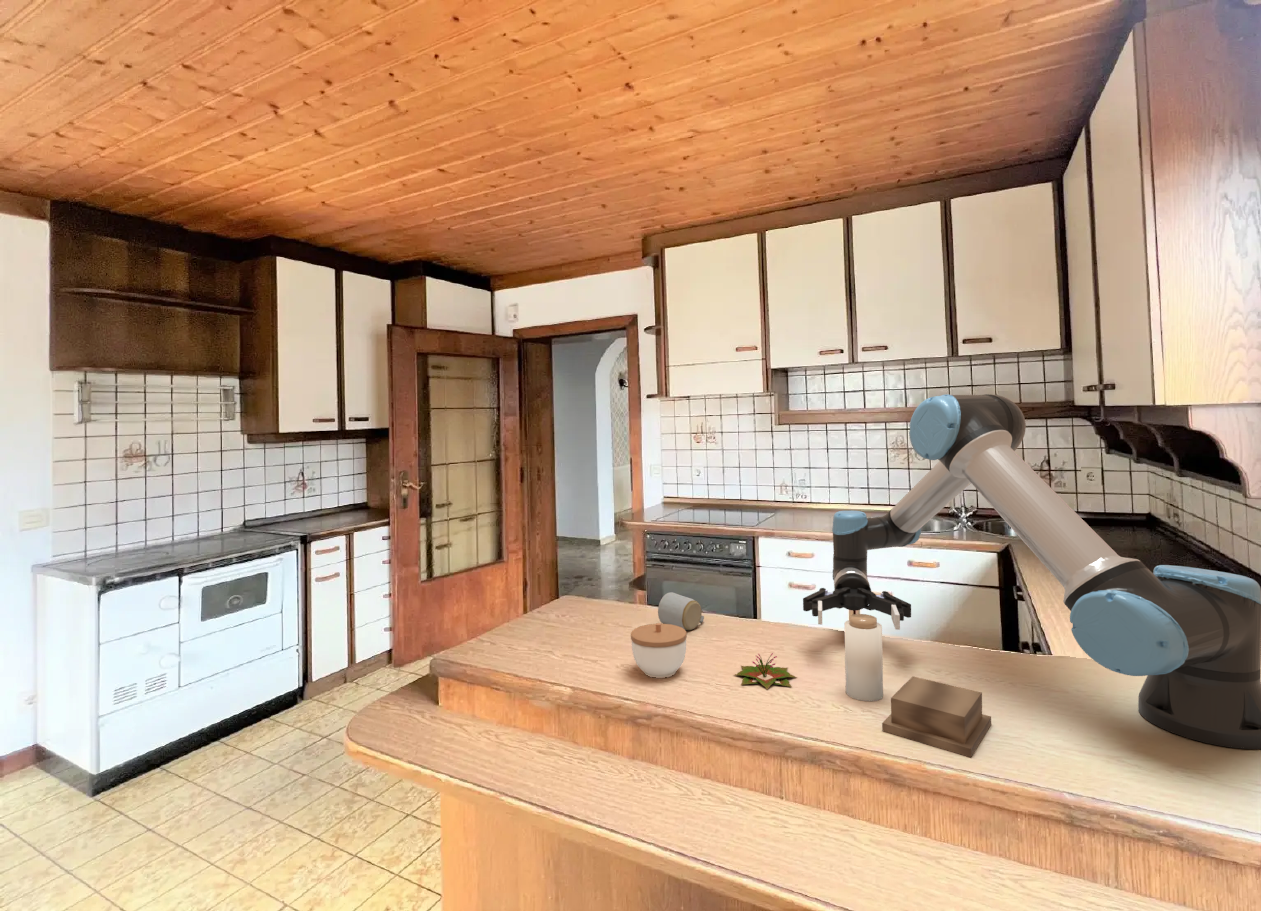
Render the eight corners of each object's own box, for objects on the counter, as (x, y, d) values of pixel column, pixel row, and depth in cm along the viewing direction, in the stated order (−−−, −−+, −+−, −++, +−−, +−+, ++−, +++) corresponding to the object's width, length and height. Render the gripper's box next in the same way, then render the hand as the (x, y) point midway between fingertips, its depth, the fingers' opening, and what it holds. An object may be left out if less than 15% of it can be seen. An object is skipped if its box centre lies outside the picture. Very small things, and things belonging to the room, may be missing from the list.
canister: (888, 691, 105) (887, 616, 104) (875, 704, 101) (874, 626, 100) (853, 682, 109) (852, 610, 108) (840, 694, 105) (838, 619, 104)
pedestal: (991, 724, 93) (990, 691, 93) (971, 757, 84) (970, 721, 84) (908, 702, 101) (908, 672, 101) (882, 730, 92) (881, 698, 92)
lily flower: (732, 665, 120) (732, 643, 120) (795, 667, 118) (795, 644, 118) (732, 691, 109) (731, 666, 108) (801, 694, 106) (800, 668, 106)
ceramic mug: (684, 635, 138) (683, 601, 137) (657, 627, 143) (656, 595, 143) (712, 624, 145) (712, 592, 145) (685, 617, 151) (685, 586, 151)
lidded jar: (658, 688, 110) (656, 637, 109) (620, 671, 118) (619, 624, 118) (699, 671, 117) (697, 623, 116) (661, 657, 125) (660, 611, 125)
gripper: (914, 609, 131) (931, 644, 111) (794, 602, 138) (789, 634, 118) (913, 574, 130) (931, 604, 110) (793, 569, 138) (789, 596, 118)
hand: (858, 619), depth 114 cm, fingers open, 13 cm apart
